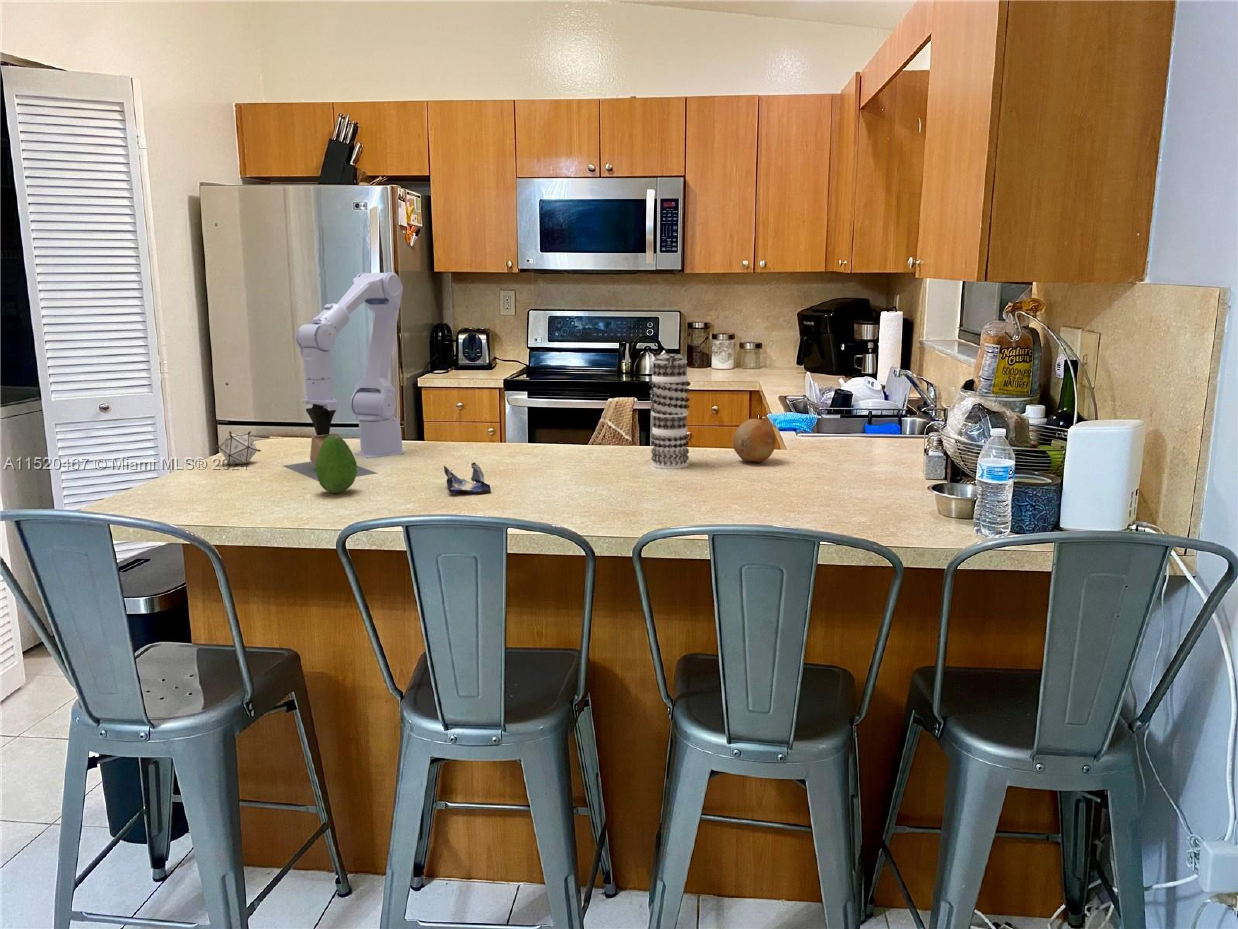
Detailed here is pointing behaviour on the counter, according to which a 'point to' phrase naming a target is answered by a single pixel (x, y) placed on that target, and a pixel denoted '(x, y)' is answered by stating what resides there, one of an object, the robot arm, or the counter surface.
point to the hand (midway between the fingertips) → (323, 438)
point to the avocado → (335, 465)
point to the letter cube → (318, 446)
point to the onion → (754, 441)
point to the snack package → (457, 483)
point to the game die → (238, 448)
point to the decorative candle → (669, 411)
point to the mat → (310, 470)
